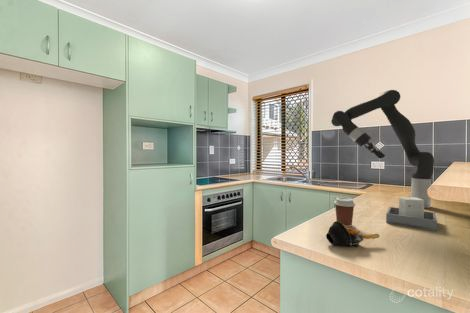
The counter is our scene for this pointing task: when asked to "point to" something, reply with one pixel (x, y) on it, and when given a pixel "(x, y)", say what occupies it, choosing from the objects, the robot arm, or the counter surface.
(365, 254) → the counter surface
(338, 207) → the coffee cup
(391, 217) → the tray
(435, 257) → the counter surface
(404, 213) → the small box
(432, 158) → the robot arm
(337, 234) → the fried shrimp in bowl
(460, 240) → the counter surface
